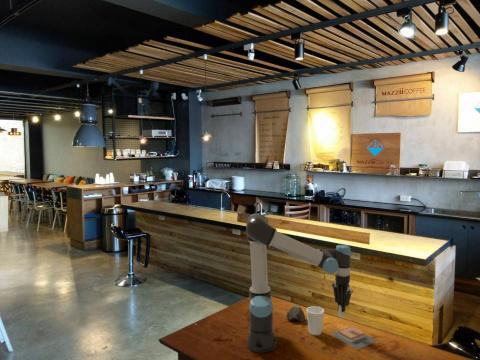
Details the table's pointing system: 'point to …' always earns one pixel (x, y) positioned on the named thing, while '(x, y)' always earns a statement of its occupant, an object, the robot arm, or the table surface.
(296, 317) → the fossil
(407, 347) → the table surface
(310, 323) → the foam cup
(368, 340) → the mat
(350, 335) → the tile
